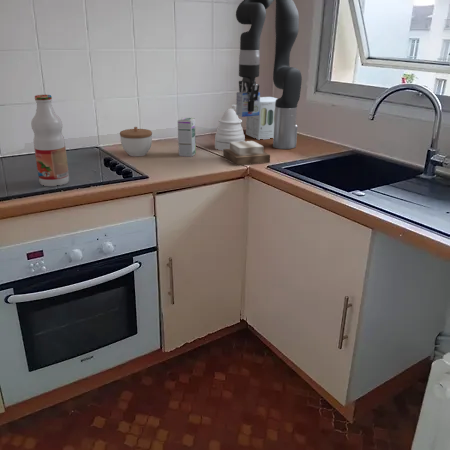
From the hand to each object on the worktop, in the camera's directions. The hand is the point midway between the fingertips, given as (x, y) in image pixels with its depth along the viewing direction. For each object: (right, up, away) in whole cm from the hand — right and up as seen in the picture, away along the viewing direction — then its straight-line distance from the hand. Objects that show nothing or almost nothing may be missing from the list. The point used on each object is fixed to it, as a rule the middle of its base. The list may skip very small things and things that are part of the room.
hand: (247, 110), depth 176 cm
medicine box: (0, -2, +1) cm, 2 cm away
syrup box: (-24, -15, +13) cm, 31 cm away
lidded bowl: (-44, -15, +12) cm, 48 cm away
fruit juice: (-65, -30, -23) cm, 75 cm away
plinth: (0, -18, +7) cm, 19 cm away
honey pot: (-7, -10, +25) cm, 28 cm away
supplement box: (+10, -1, +47) cm, 48 cm away
